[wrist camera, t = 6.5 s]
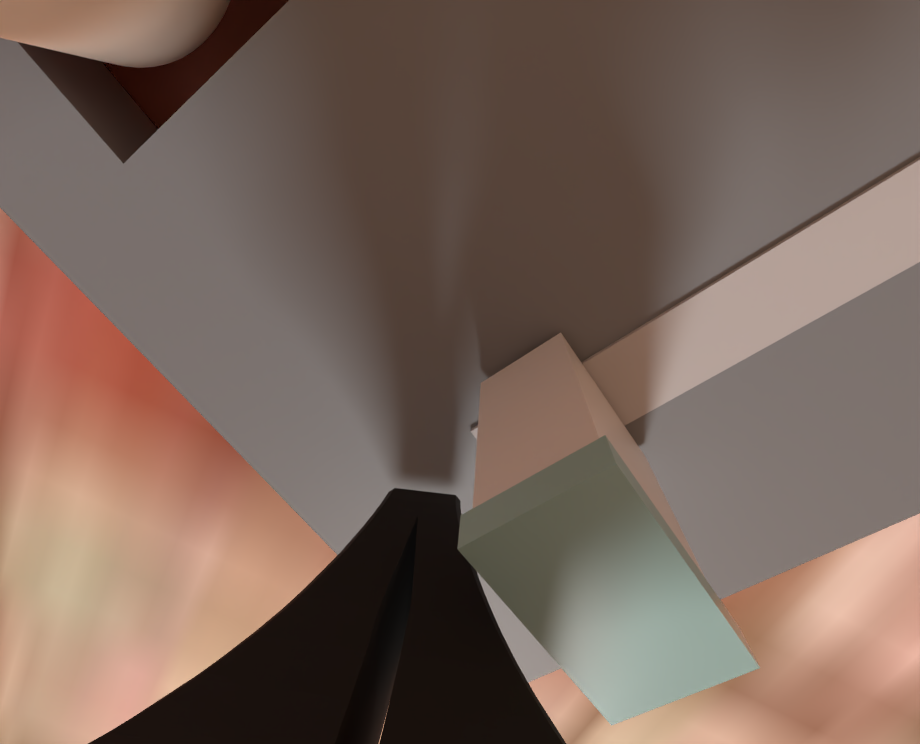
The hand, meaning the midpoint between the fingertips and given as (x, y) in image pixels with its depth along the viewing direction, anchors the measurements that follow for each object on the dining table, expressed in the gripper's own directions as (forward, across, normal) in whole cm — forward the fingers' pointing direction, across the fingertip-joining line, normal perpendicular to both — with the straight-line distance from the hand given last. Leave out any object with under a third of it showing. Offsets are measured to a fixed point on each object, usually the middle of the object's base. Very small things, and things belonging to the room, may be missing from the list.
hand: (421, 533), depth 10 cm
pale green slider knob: (+1, -3, -2) cm, 4 cm away
